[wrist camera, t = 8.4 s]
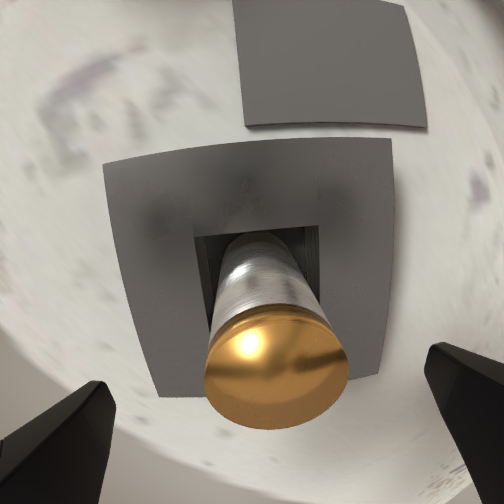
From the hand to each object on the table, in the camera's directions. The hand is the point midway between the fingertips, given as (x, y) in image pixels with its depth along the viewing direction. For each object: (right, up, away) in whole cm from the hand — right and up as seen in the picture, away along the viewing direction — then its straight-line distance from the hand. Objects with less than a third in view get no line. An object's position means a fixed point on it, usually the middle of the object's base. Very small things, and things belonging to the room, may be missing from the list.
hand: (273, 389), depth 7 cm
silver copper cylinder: (0, +3, +8) cm, 9 cm away
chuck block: (0, +3, +8) cm, 9 cm away
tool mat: (+4, +14, +5) cm, 15 cm away
